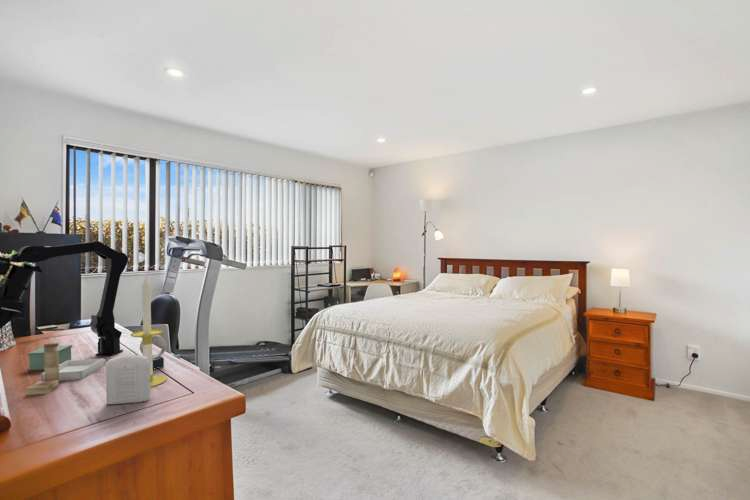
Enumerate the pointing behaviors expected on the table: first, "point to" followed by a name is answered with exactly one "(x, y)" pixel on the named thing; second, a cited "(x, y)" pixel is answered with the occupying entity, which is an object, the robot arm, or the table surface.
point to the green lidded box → (38, 357)
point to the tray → (77, 369)
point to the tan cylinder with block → (48, 371)
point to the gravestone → (128, 379)
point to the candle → (148, 332)
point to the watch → (157, 359)
